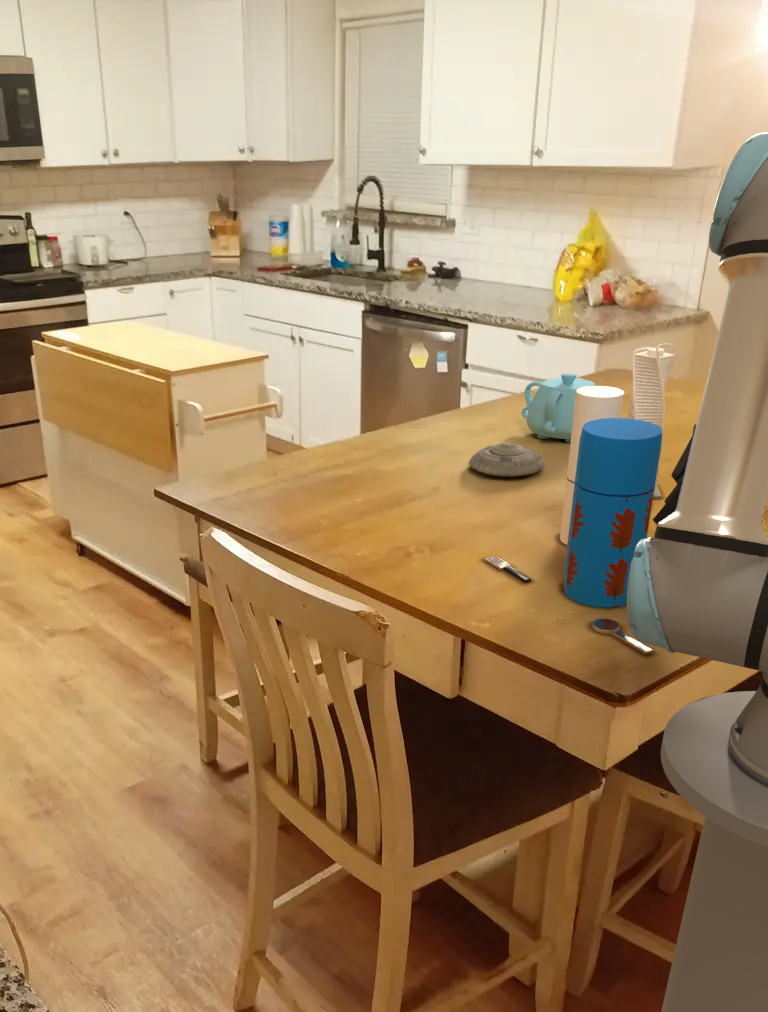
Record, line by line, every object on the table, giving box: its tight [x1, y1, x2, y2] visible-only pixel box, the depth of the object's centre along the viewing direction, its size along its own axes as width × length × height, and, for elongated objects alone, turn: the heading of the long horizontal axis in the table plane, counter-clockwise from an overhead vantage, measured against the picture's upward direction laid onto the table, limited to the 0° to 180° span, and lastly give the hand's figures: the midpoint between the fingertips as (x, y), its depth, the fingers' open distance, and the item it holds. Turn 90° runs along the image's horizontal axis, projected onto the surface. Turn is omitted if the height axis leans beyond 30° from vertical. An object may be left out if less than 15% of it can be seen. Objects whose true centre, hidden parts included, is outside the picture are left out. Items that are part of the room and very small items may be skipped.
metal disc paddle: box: [592, 618, 653, 655], centre depth 130 cm, size 10×4×1 cm, turn 25°
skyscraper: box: [625, 342, 678, 499], centre depth 172 cm, size 8×8×28 cm
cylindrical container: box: [559, 385, 625, 546], centre depth 154 cm, size 7×7×25 cm
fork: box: [484, 555, 532, 583], centre depth 150 cm, size 10×2×1 cm, turn 25°
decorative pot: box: [521, 372, 596, 444], centre depth 209 cm, size 16×16×14 cm
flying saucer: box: [468, 442, 545, 478], centre depth 191 cm, size 15×15×6 cm
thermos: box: [563, 417, 663, 609], centre depth 136 cm, size 11×11×25 cm
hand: (660, 526), depth 142 cm, fingers closed
